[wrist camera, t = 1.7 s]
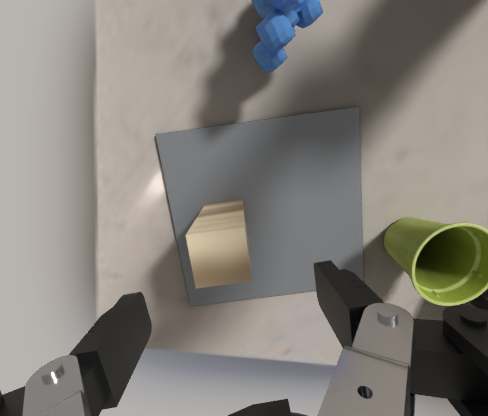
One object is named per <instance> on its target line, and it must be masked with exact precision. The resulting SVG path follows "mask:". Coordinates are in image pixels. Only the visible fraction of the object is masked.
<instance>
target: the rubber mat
mask: <svg viewBox="0 0 488 416" xmlns="http://www.w3.org/2000/svg"><path fill="white" fill-rule="evenodd" d="M155 135H156V140H157V145H158V149H159V154H160V159H161V164H162V169H163V174H164V179H165V184H166V189H167V194H168V199H169V204H170V209H171V214H172V219H173V224H174V228H175V233H176V238H177V243H178V248H179V253H180V258H181V263H182V268H183V273H184V278H185V283H186V288H187V293H188V298H189V303H190V307H191V306H199V305H207V304H215V303H223V302H230V301H238V300H246V299H254V298H262V297H270V296H278V295H285V294H293V293H301V292H309V291H316V283H315V275H314V263H316V262H322V261H328V260H331V261H332V262H333V263H334V264H335V265H336V267H337V268H338V269H339V270H341V269H346V270H349V271H351V272H353V273H355V274H356V275H357V276H358V277H359V278H360V279H361V281H363V282H364V273H363V231H362V189H361V147H360V107H353V108H345V109H338V110H331V111H323V112H316V113H308V114H301V115H294V116H286V117H279V118H271V119H264V120H257V121H249V122H242V123H234V124H227V125H220V126H212V127H205V128H197V129H190V130H183V131H175V132H168V133H160V134H155ZM237 200H243V206H244V213H245V220H246V228H247V235H248V245H249V256H250V266H251V276H252V281H251V282H243V283H235V284H227V285H219V286H212V287H204V288H196V287H195V282H194V277H193V271H192V266H191V261H190V256H189V251H188V246H187V240H186V234H187V232H188V230H189V229H190V227H191V226H192V224H193V223H194V221H195V219H196V218H197V216H198V215H199V213H200V211H201V210H202V208H203V207H204V205H207V204H214V203H222V202H229V201H237Z"/></svg>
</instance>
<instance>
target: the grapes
mask: <svg viewBox="0 0 488 416" xmlns="http://www.w3.org/2000/svg"><path fill="white" fill-rule="evenodd" d="M252 2H253V5H254V7H255V9H256V11H257V13H258V14H259V16H260V18H261V19H263V20H262V21H261V22H260V23H259V24H258V26H257V27H256V28H255V29H256V31H257V34H258V36H259V38H260V39H261V40H260V41H259V43H258V44H257V45H256V46H255V47H254V48H253V51H252V53H253V55H254V57H255V59H256V61H257V63H258V64H259V66H260V67H261V69H262V70H264V71H266V72H271V71H273V70H275V69H276V68H278V67H279V66H280V65H281V64H282V63H283V62H284V61H285V60H286V59H287V56H286V53H285V51H284V49H283V47H284V46H286V45H287V44H288V43H289V42H290V41H291V40H292V38H293V37H294V36H295V30H294V26H295V25H297V26H299V27H301V28H305V27H307V26H309V25H311V24H312V23H313V22H314V21H315V20H316V19H317V18H318V17H319V16H320V15H321V14H322V13H323V11H322V7H321V4H320V1H319V0H252Z"/></svg>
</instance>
